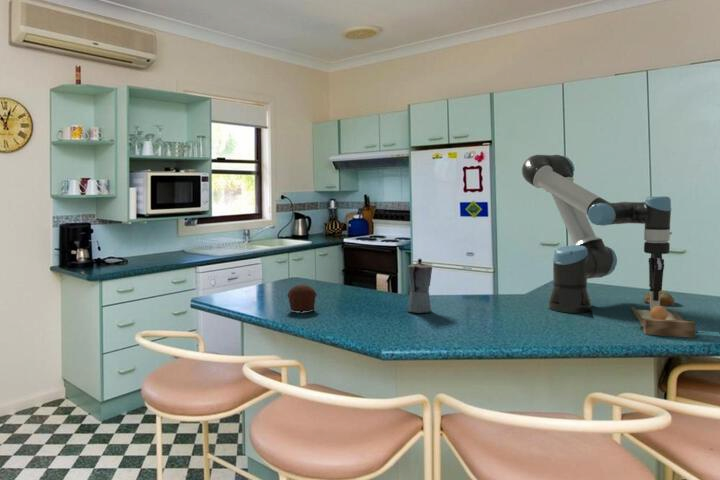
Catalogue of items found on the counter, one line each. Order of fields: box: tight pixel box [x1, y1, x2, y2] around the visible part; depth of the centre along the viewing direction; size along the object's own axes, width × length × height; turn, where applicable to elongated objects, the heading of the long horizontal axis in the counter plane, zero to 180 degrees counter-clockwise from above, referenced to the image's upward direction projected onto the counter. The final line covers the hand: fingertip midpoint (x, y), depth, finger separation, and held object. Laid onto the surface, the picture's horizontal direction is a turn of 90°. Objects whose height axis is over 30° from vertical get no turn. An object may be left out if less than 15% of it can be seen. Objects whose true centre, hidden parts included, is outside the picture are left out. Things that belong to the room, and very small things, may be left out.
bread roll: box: [643, 289, 676, 307], centre depth 188 cm, size 10×10×8 cm
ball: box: [650, 306, 668, 320], centre depth 162 cm, size 5×5×5 cm
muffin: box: [286, 284, 318, 312], centre depth 193 cm, size 12×11×10 cm
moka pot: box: [406, 258, 433, 314], centre depth 187 cm, size 10×15×20 cm, turn 164°
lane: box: [630, 306, 697, 339], centre depth 163 cm, size 13×29×4 cm, turn 159°
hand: (654, 309), depth 172 cm, fingers closed
